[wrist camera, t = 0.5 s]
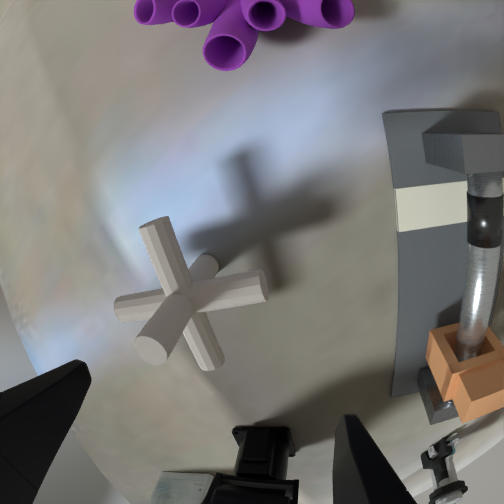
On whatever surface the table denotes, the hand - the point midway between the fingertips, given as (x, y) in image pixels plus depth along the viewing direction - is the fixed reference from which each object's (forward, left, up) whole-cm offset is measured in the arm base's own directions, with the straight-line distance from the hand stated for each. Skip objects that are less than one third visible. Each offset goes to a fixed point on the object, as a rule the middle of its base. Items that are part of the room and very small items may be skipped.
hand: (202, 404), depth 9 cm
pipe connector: (-1, +4, -14) cm, 14 cm away
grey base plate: (-5, -15, -14) cm, 21 cm away
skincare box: (-39, +19, -14) cm, 45 cm away
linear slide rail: (-5, -15, -14) cm, 21 cm away
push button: (-32, -19, -14) cm, 39 cm away
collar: (-10, -15, -12) cm, 21 cm away
